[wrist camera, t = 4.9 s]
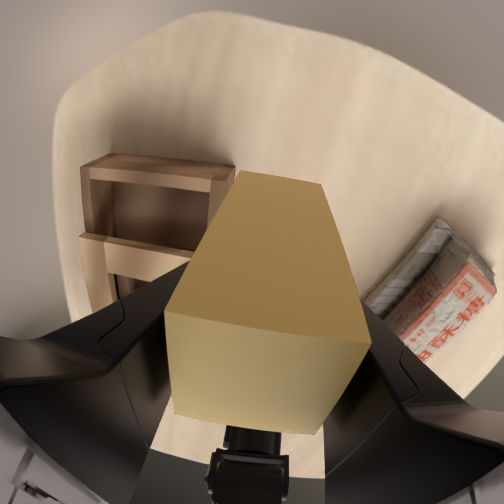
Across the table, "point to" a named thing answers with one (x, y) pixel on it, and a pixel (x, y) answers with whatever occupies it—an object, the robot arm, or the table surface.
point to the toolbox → (152, 202)
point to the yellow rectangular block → (266, 312)
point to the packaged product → (433, 291)
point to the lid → (122, 264)
